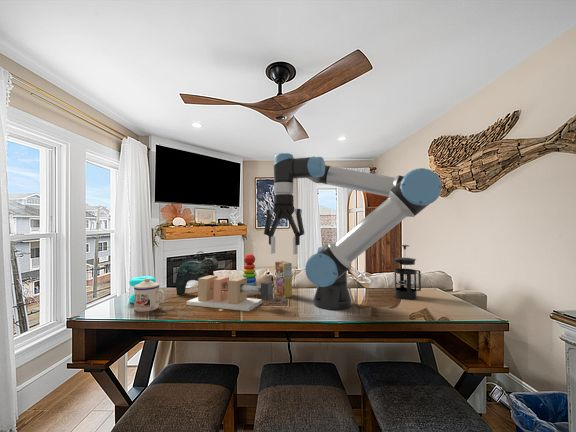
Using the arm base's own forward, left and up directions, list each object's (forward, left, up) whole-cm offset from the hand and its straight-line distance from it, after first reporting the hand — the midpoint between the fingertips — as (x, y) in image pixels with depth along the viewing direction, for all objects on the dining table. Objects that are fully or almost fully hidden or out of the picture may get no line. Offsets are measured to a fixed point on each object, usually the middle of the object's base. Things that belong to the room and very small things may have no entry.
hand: (284, 253), depth 112 cm
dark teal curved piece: (+48, -11, -22) cm, 54 cm away
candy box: (+8, -21, -22) cm, 31 cm away
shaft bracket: (+26, 0, -21) cm, 34 cm away
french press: (-45, -35, -22) cm, 61 cm away
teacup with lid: (+50, +15, -22) cm, 56 cm away
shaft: (+16, 0, -17) cm, 24 cm away
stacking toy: (+24, -18, -22) cm, 37 cm away
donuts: (+62, +7, -22) cm, 66 cm away
